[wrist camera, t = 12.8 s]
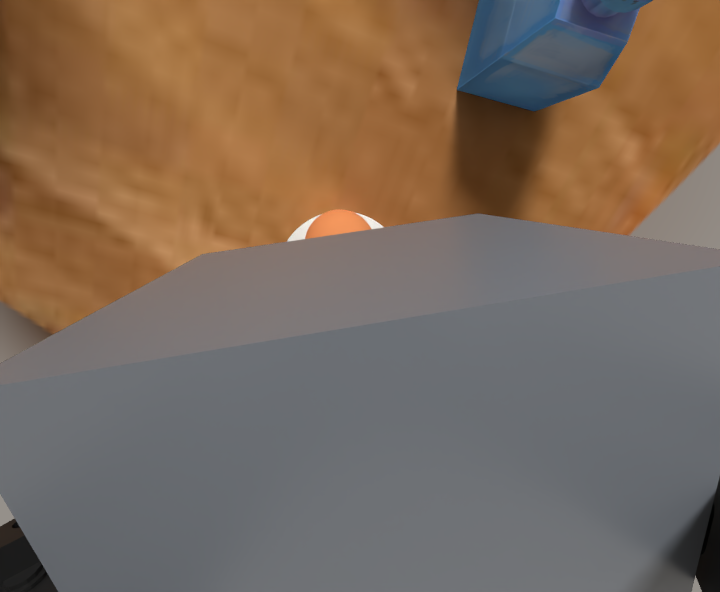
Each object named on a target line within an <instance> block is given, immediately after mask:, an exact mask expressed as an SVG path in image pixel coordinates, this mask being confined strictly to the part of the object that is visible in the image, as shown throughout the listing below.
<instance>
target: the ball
mask: <svg viewBox="0 0 720 592" xmlns="http://www.w3.org/2000/svg"><path fill="white" fill-rule="evenodd" d="M370 229H371V227H370V226H369V224H368V223H367V222H366V221H365V220H364V219H363V218H362V217H361V216H359V215H358V214H356V213H354V212H352V211H348V210H339V209H338V210H331V211H328V212H325V213H323V214H322V215H320V216H319V217H317V218H316V219H315V220H314V221H313V222H312V224H311V225H310V227H309V228H308V230H307V233H306V236H305V239H309V238H316V237H322V236H329V235H336V234H343V233H350V232H356V231H363V230H370Z"/></svg>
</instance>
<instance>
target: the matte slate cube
mask: <svg viewBox="0 0 720 592" xmlns="http://www.w3.org/2000/svg"><path fill="white" fill-rule="evenodd" d="M719 477H720V249H714V248H707V247H700V246H694V245H687V244H680V243H673V242H666V241H660V240H653V239H646V238H639V237H632V236H626V235H620V234H613V233H606V232H599V231H593V230H586V229H579V228H572V227H566V226H559V225H552V224H546V223H539V222H532V221H525V220H519V219H512V218H505V217H498V216H492V215H485V214H472V215H465V216H458V217H451V218H445V219H438V220H431V221H424V222H418V223H411V224H404V225H397V226H390V227H384V228H377V229H370V230H363V231H356V232H350V233H343V234H336V235H329V236H322V237H316V238H309V239H302V240H295V241H289V242H282V243H275V244H268V245H261V246H255V247H248V248H241V249H234V250H227V251H221V252H214V253H207V254H202V255H200V256H198V257H196V258H194V259H192V260H191V261H189V262H187V263H185V264H183V265H181V266H179V267H178V268H176V269H174V270H172V271H170V272H168V273H167V274H165V275H163V276H161V277H159V278H157V279H155V280H154V281H152V282H150V283H148V284H146V285H144V286H142V287H141V288H139V289H137V290H135V291H133V292H131V293H129V294H128V295H126V296H124V297H122V298H120V299H118V300H116V301H115V302H113V303H111V304H109V305H107V306H105V307H103V308H102V309H100V310H98V311H96V312H94V313H92V314H90V315H89V316H87V317H85V318H83V319H81V320H79V321H77V322H76V323H74V324H72V325H70V326H68V327H66V328H64V329H63V330H61V331H59V332H57V333H55V334H53V335H52V336H50V337H48V338H46V339H44V340H42V341H40V342H39V343H37V344H35V345H33V346H31V347H29V348H27V349H26V350H24V351H22V352H20V353H18V354H16V355H15V356H13V357H11V358H9V359H7V360H5V361H3V362H1V363H0V494H1V496H2V498H3V499H4V501H5V503H6V504H7V506H8V508H9V509H10V511H11V513H12V514H13V516H14V518H15V519H16V521H17V523H18V525H19V526H20V528H21V530H22V531H23V533H24V535H25V536H26V538H27V540H28V541H29V543H30V545H31V546H32V548H33V550H34V552H35V553H36V555H37V557H38V558H39V560H40V562H41V563H42V565H43V567H44V568H45V570H46V572H47V573H48V575H49V577H50V579H51V580H52V582H53V584H54V585H55V587H56V589H57V590H58V592H691V591H692V587H693V583H694V579H695V575H696V570H697V566H698V562H699V558H700V554H701V550H702V546H703V542H704V538H705V534H706V530H707V526H708V522H709V518H710V514H711V509H712V505H713V501H714V497H715V493H716V489H717V485H718V481H719Z"/></svg>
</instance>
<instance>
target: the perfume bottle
mask: <svg viewBox="0 0 720 592" xmlns="http://www.w3.org/2000/svg"><path fill="white" fill-rule="evenodd" d="M651 1H653V0H479V3H478V7H477V11H476V15H475V19H474V23H473V27H472V31H471V35H470V39H469V43H468V47H467V51H466V55H465V59H464V63H463V67H462V71H461V75H460V79H459V83H458V87H457V90H459V91H462V92H466V93H470V94H473V95H477V96H481V97H484V98H488V99H491V100H495V101H499V102H502V103H506V104H509V105H513V106H517V107H520V108H524V109H527V110H531V111H537V110H540V109H543V108H545V107H548V106H551V105H553V104H556V103H559V102H561V101H564V100H567V99H570V98H572V97H575V96H578V95H580V94H583V93H586V92H588V91H591V90H594V89H597V88H599V87H600V85H601V83H602V82H603V80H604V79H605V77H606V75H607V74H608V72H609V71H610V69H611V68H612V66H613V64H614V63H615V61H616V60H617V58H618V56H619V55H620V53H621V52H622V50H623V48H624V47H625V45H626V44H627V42H628V39H629V37H630V34H631V31H632V28H633V25H634V23H635V20H636V17H637V14H638V11H639V9H640V7H642V6H644V5H646V4H647V3H649V2H651Z"/></svg>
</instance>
